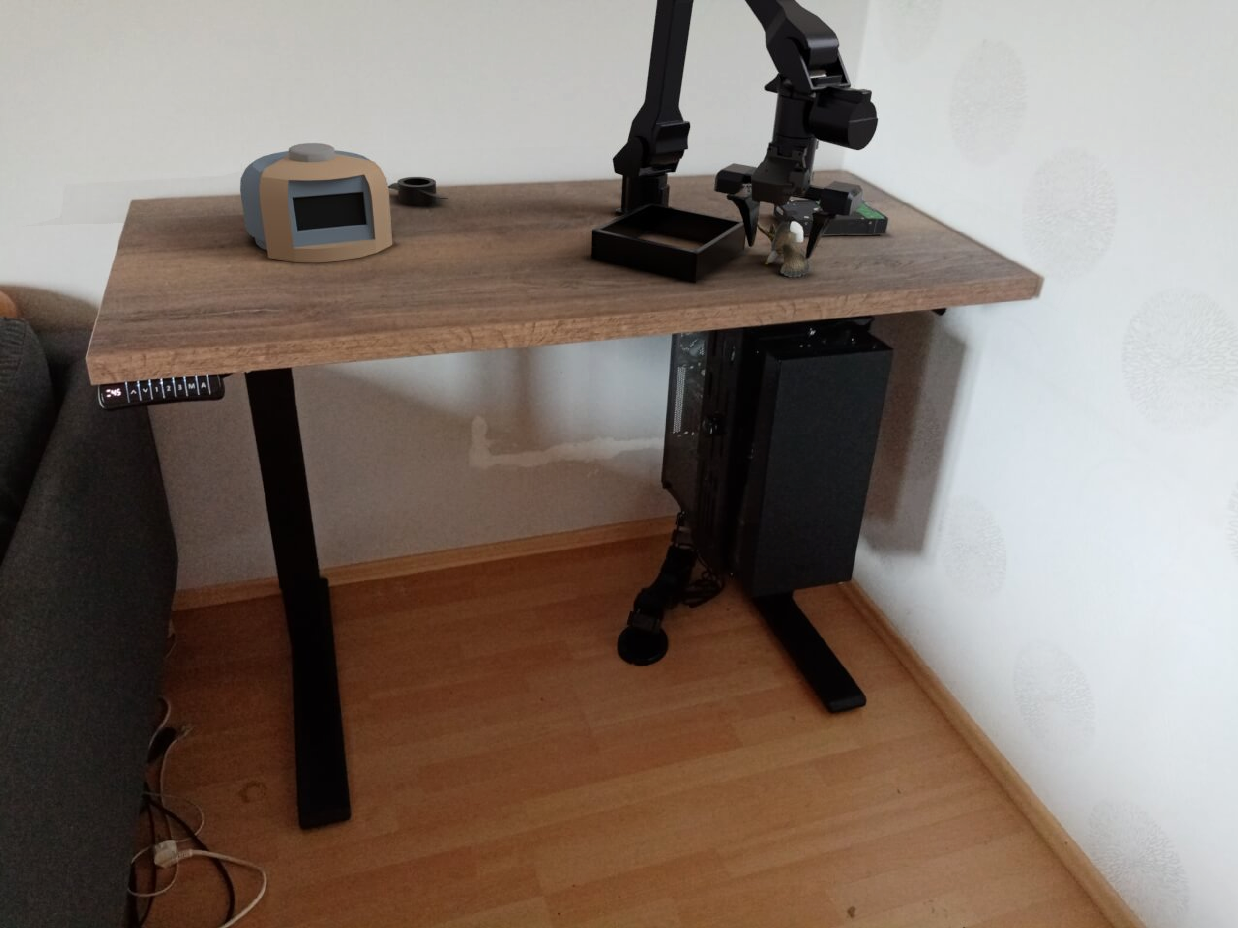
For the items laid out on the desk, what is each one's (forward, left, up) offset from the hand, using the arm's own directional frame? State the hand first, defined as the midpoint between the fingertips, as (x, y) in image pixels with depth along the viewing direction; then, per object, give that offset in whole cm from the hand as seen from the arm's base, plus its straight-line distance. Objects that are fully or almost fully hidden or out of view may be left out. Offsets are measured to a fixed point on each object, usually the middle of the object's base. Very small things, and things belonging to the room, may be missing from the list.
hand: (779, 252), depth 133 cm
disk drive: (0, +22, -2) cm, 22 cm away
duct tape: (-57, -6, -2) cm, 57 cm away
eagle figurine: (0, 0, -2) cm, 2 cm away
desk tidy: (-14, -5, -2) cm, 15 cm away
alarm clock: (-56, -28, -2) cm, 63 cm away
